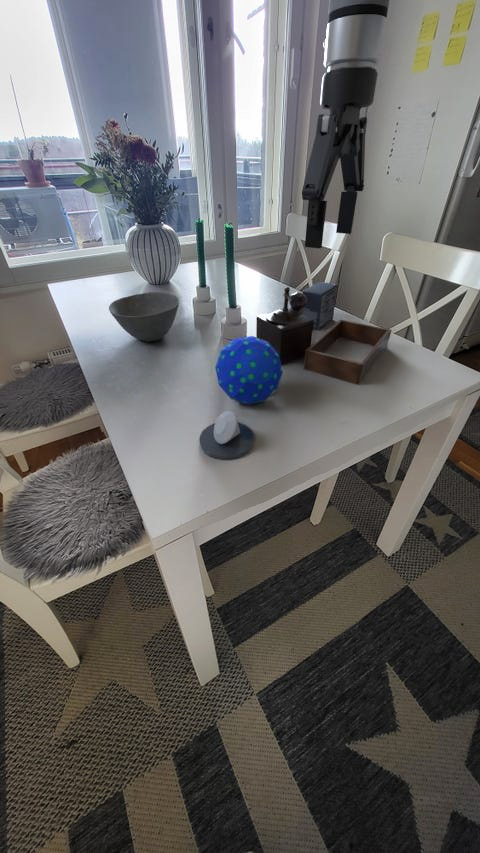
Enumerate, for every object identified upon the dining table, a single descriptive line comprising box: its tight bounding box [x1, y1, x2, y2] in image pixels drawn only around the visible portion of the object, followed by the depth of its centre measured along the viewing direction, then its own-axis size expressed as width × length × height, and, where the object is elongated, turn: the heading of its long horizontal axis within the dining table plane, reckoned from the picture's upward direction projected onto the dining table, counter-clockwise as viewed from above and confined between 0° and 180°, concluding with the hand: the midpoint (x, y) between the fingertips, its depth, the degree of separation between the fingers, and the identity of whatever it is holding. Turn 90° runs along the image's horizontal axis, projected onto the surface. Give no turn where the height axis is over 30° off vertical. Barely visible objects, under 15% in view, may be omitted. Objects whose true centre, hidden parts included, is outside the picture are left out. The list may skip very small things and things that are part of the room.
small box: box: [302, 281, 338, 331], centre depth 102 cm, size 11×6×10 cm, turn 144°
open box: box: [303, 319, 392, 386], centre depth 85 cm, size 14×22×5 cm, turn 146°
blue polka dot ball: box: [215, 335, 283, 405], centre depth 72 cm, size 14×14×15 cm
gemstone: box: [214, 410, 240, 444], centre depth 62 cm, size 6×6×5 cm
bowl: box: [108, 291, 180, 342], centre depth 96 cm, size 19×19×10 cm
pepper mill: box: [255, 286, 314, 365], centre depth 83 cm, size 16×11×18 cm
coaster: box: [198, 421, 255, 461], centre depth 63 cm, size 10×10×1 cm
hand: (329, 240), depth 61 cm, fingers open, 13 cm apart
